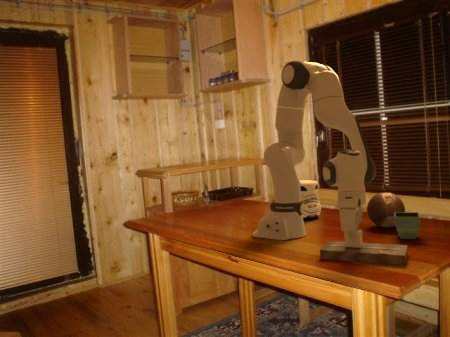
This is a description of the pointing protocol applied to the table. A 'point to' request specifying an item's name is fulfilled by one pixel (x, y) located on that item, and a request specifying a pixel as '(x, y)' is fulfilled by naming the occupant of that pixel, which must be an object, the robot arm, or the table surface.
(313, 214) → the milk container
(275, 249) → the table surface
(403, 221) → the flower pot
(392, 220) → the brown leather ball
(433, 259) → the table surface
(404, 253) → the track board
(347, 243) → the fader
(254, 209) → the table surface
